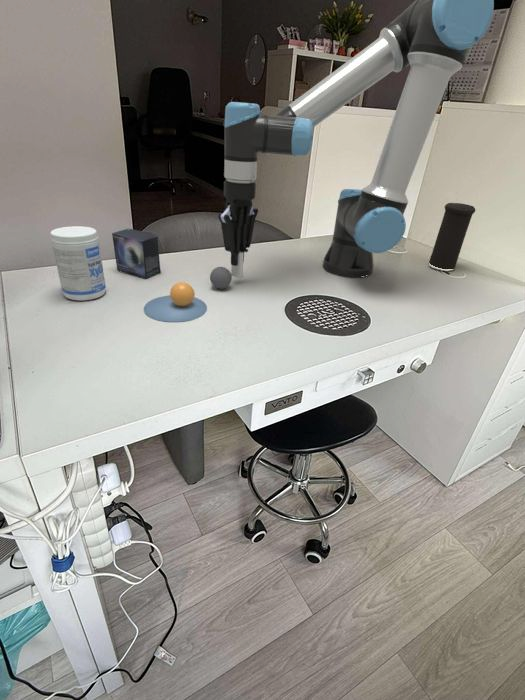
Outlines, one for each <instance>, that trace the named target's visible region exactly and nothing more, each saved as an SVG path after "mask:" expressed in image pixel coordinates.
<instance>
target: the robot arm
mask: <svg viewBox="0 0 525 700" xmlns="http://www.w3.org/2000/svg"><path fill="white" fill-rule="evenodd" d="M494 1H495V0H414V1H413V3H411V4H410V5H409V6H408V7H407V8H406V9H404V11H403V12H401V14H399V15H398V16H397V17H396V18H395V19H394V20H392V21H391V22H390V23H389V24H387V25H385V27H384V28H382V29H381V31H380V34H379V37H378V38H377V39H375V40H374V41H372V43H370V44H369V45H367V46H366V47H365V48H363V49H362V50H361V51H359V52H358V53H357V54H355V55H354V56H352V58H350V59H349V60H347V61H346V62H345V63H343V64H342V65H340V67H338V68H337V69H335V70H334V71H333V72H331V73H330V74H329V75H327V76H326V77H324V78H323V79H321V81H319V82H318V83H316V84H315V85H314V86H312V87H311V88H309V89H308V90H307V91H306V92H304V93H303V94H301V95H300V96H299V97H297V98H296V99H295V100H294V101H292V102H291V103H290V104H288V105H287V106H286V107H285V108H284V107H283V108H282V110H281V111H278V113H276V114H275V115H267V114H266V115H265V114H262V113H261V108H260V107H261V106H260V105H259V104H257V103H250V102H239V101H230V102H228V103H227V105H225V109H224V126H223V127H224V128H223V129H224V131H223V132H224V136H223V137H224V146H223V147H224V156H223V157H224V167H223V168H224V169H223V171H224V172H223V176H224V177H223V178H225V180H224V181H223V196H224V197H225V199H226V204H225V208H224V209H225V210H224V211H223V213H221V212H219V213H218V215H217V217H218V220H219V222H220V227H221V231H222V238H223V245H224V246H223V247H224V251H225V252H229V253H230V265H231V271H230V273H231V276H233V277H235V278H238V279H240V278H243V276H244V262H245V253H248V252H249V248H250V247H251V243H252V239H253V234H254V233H253V232H254V227H255V222H256V218H257V215H258V213H259V209H258V208H255V207H254V206H253V202H252V200H254V199H255V198H256V188H257V185H256V182H255V181H256V179H257V173H258V172H257V171H258V154H271V155H283V156H293V157H296V156H300V157H301V156H307V155H308V154H309V153H310V151H311V148H312V143H313V138H314V137H313V136H314V128H315V127H316V126H318V124H320V123H322V122H323V121H324V120H326V119H327V118H328V117H330V116H331V115H333V114H334V113H335V112H337V111H338V110H340V109H341V108H343V107H344V106H346V105H347V104H348V103H350V102H351V101H352V100H354V99H356V98H357V97H358V96H359V95H361V94H363V93H364V92H366V90H368V89H369V88H371V87H372V86H373V85H375V84H376V83H378V82H380V80H383V78H385V77H386V76H388V75H389V74H390V73H392V72H395V73H400V72H401V71H402V70H404V69H405V68H406V67H408V66H410V69H409V71H408V75H407V78H406V80H405V84H404V86H403V90H402V92H401V95H400V97H399V101H398V104H397V107H396V110H395V111H394V116H393V119H392V121H391V123H390V124H391V125H390V127H389V130H388V133H387V136H386V138H385V142H384V145H383V147H382V150H381V154H380V156H379V159H378V162H377V165H376V167H375V171H374V174H373V176H372V179H371V182H370V183H369V184H368V185H366V186H365V187H363V188H362V189H358V188H357V189H356V188H355V189H354V188H344V189H342V190H341V191H340V194H339V198H338V200H337V209H336V217H335V222H334V229H333V236H332V241H331V243H330V246H328V247H329V248H328V250H327V252H326V254H325V256H324V258H323V261H322V268H323V269H324V270H325V271H326V272H328V273H330V274H333V275H337V276H341V277H345V278H362V277H361V276H366V275H369V274H371V273H372V274H373V270H374V257H373V254H381V253H382V254H383V253H386V252H388V251H390V250H391V249H393V248H395V247H396V246H397V245H398V244H399V243H400V242H401V240H402V239H403V237H404V234H405V232H406V228H407V227H406V226H407V225H406V224H407V223H406V219H405V216H404V214H405V211H406V209H407V206H408V204H409V200H408V198H407V197H408V196H407V195H406V192H407V189H408V186H409V183H410V181H411V179H412V176H413V174H414V171H415V169H416V166H417V163H418V161H419V158H420V155H421V152H422V150H423V148H424V145H425V142H426V139H427V137H428V135H429V132H430V131H431V130H430V129H431V128H432V125H433V122H434V120H435V117H436V114H437V112H438V109H439V107H440V104H441V102H442V99H443V97H444V94H445V91H446V89H447V87H448V84H449V81H450V78H451V77H452V76H453V75H454V74H456V73H457V72H458V71H460V70H462V68H463V66H464V64H465V60H467V59H466V58H467V56H468V53H469V51H470V49H471V48H472V47H473V46H474V45H476V43H478V42H479V41H481V39H482V38H483V37H484V35H485V34H486V32H487V31H488V29H489V27H490V25H491V22H492V19H493V16H494V8H495V5H494V4H495V2H494ZM372 274H371V275H372ZM369 276H370V275H369ZM366 277H367V276H366Z"/></svg>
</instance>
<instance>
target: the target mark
mask: <svg viewBox="0 0 525 700" xmlns="http://www.w3.org/2000/svg"><path fill="white" fill-rule="evenodd" d="M207 309H208V307H207V304H206V303H205V302H204V300H201V299H199V298H198V297H196V296H194V300H193V301H192V303H191V304H189V305H187V306H183V307H182V306H178V305H176V304H175V303H173V301H172V300H171V297H170V294H169V295H163V296H162V295H161V296H158V297H156V298H155V297H154V298H153V299H151V300H150V301H147V302H146V303H145V305H144V306H143V312H144V314H145V315H146V316H147V317H149V318H150V319H153V320H156V321H159V322H164V323H184V322H190V321H192V320H195V319H198V318H200V317H202V316H203V315H205V313H206V312H207Z"/></svg>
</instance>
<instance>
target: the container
mask: <svg viewBox="0 0 525 700" xmlns="http://www.w3.org/2000/svg"><path fill="white" fill-rule="evenodd" d="M475 212H476V208H475V206H473V205H471V204H465V203H461V202H448V203H446V204H445V205H444V214H443V217H442V220H441V224H440V227H439V230H438V233H437V236H436V239H435V243H434V245H433V249H432V251H431V255H430V257H429V261H428V264H429V263H430V264H431V265H433V266H435V267H438V268H442V269H454V268H455V269H456V266H457V264H458V263H457V262H458V261H459V256H460V253H461V251H462V246H463V243H464V241H465V238H466V235H467V232H468V228H469V226H470V223H471V219H472V217H473V215H474V213H475ZM455 269H454V270H455Z"/></svg>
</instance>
